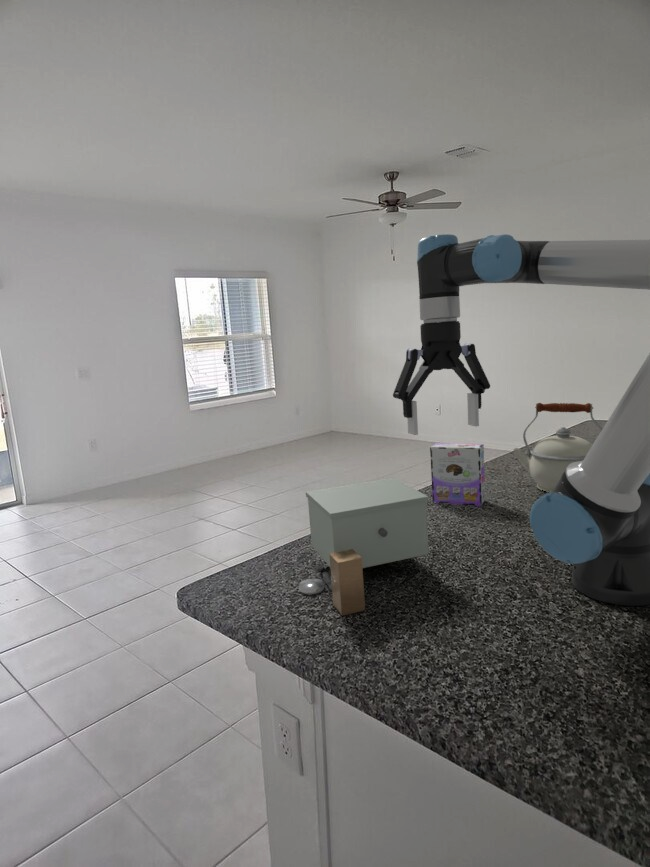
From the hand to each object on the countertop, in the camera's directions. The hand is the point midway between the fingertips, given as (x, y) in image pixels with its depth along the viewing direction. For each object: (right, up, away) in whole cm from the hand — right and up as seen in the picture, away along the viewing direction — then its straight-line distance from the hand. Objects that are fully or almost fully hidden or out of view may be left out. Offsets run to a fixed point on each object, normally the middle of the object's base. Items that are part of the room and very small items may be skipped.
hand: (443, 429), depth 110 cm
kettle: (+44, -17, +52) cm, 70 cm away
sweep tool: (-21, -32, -4) cm, 38 cm away
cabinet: (-14, -29, +7) cm, 33 cm away
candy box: (+14, -20, +45) cm, 51 cm away
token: (-26, -32, -1) cm, 41 cm away
